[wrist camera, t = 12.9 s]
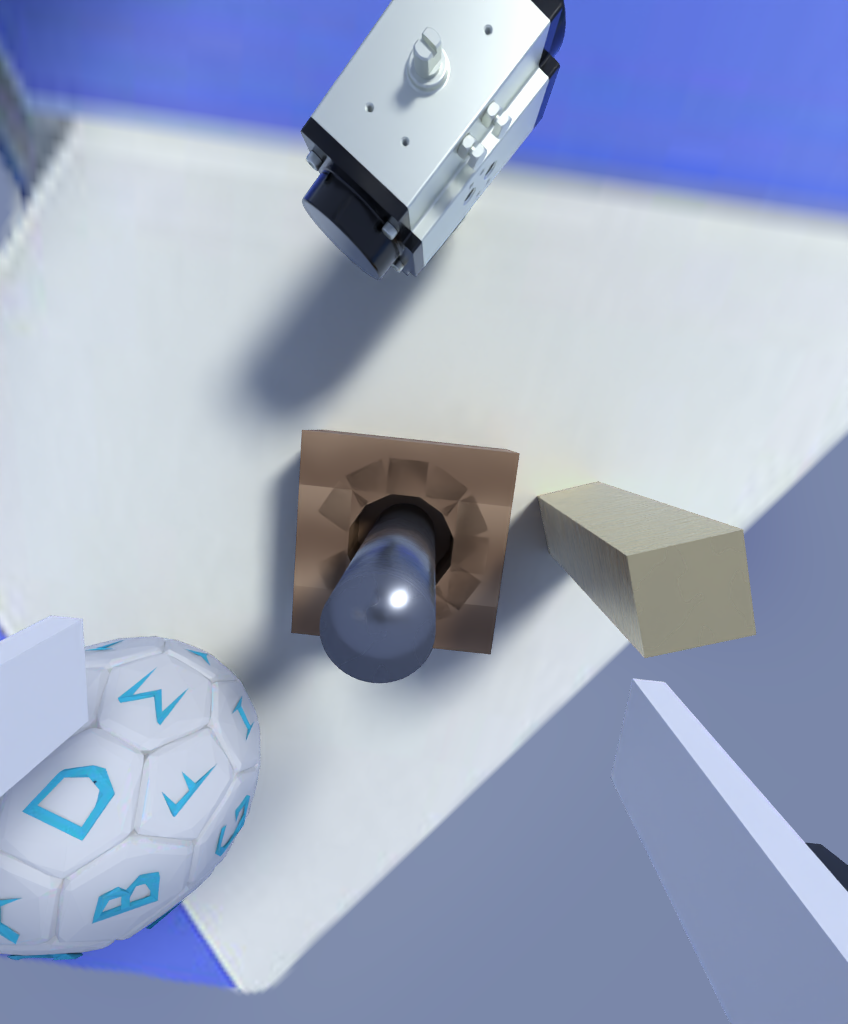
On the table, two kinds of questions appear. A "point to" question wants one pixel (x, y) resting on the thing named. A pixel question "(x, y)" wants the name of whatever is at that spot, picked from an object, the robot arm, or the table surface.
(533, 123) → the pneumatic valve
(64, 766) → the puzzle ball
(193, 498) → the table surface
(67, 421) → the table surface
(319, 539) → the bore block
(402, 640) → the cylinder
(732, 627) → the square bit
